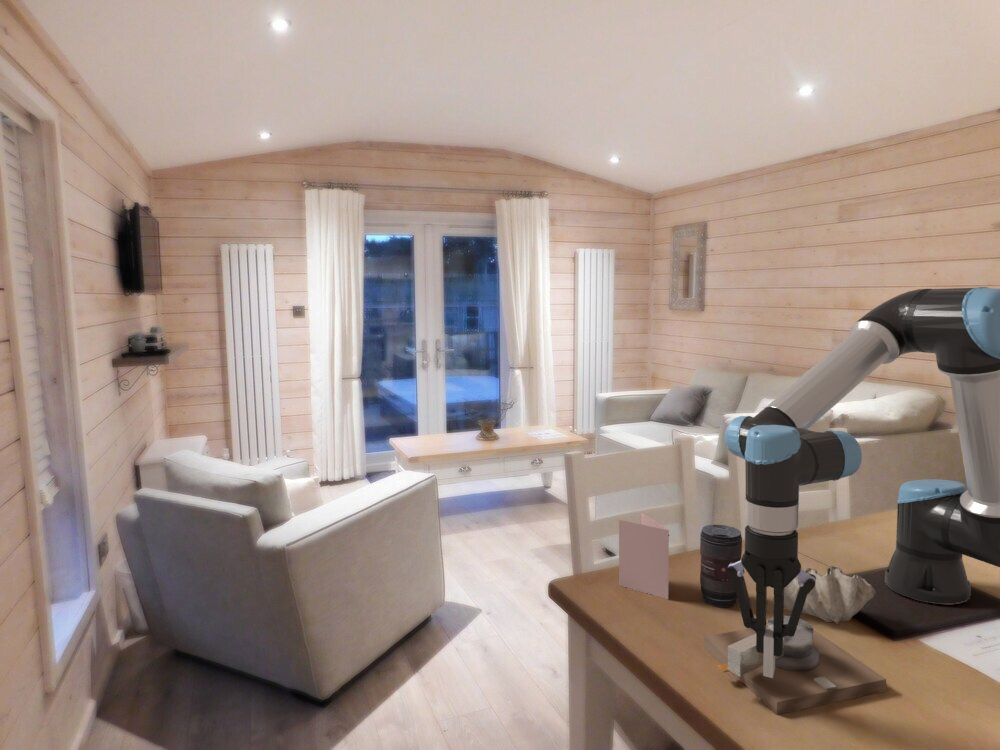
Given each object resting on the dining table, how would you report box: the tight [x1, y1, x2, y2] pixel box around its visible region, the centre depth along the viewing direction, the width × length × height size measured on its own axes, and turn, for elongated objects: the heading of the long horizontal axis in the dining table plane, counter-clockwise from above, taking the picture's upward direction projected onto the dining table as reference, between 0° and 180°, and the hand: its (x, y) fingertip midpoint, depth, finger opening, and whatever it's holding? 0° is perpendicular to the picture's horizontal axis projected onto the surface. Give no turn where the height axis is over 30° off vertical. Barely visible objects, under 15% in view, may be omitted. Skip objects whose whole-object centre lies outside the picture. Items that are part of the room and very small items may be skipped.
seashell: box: [784, 565, 876, 624], centre depth 128 cm, size 10×15×10 cm
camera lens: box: [699, 524, 743, 608], centre depth 136 cm, size 8×8×15 cm
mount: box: [703, 624, 887, 715], centre depth 111 cm, size 23×20×4 cm
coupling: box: [728, 615, 814, 677], centre depth 109 cm, size 18×7×4 cm, turn 121°
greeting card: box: [618, 513, 670, 600], centre depth 141 cm, size 11×7×15 cm, turn 17°
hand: (769, 672), depth 104 cm, fingers closed
